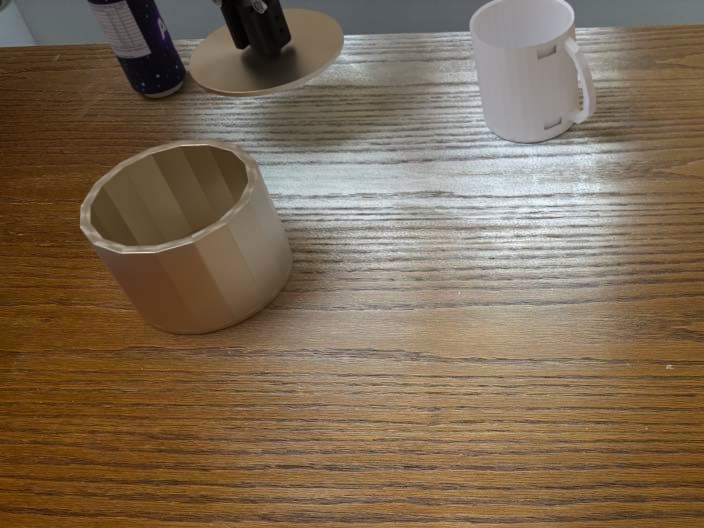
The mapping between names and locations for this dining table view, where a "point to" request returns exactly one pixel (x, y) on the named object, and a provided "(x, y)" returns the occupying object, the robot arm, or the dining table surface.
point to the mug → (530, 69)
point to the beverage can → (141, 45)
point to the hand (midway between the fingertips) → (264, 43)
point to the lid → (260, 69)
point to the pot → (189, 235)
